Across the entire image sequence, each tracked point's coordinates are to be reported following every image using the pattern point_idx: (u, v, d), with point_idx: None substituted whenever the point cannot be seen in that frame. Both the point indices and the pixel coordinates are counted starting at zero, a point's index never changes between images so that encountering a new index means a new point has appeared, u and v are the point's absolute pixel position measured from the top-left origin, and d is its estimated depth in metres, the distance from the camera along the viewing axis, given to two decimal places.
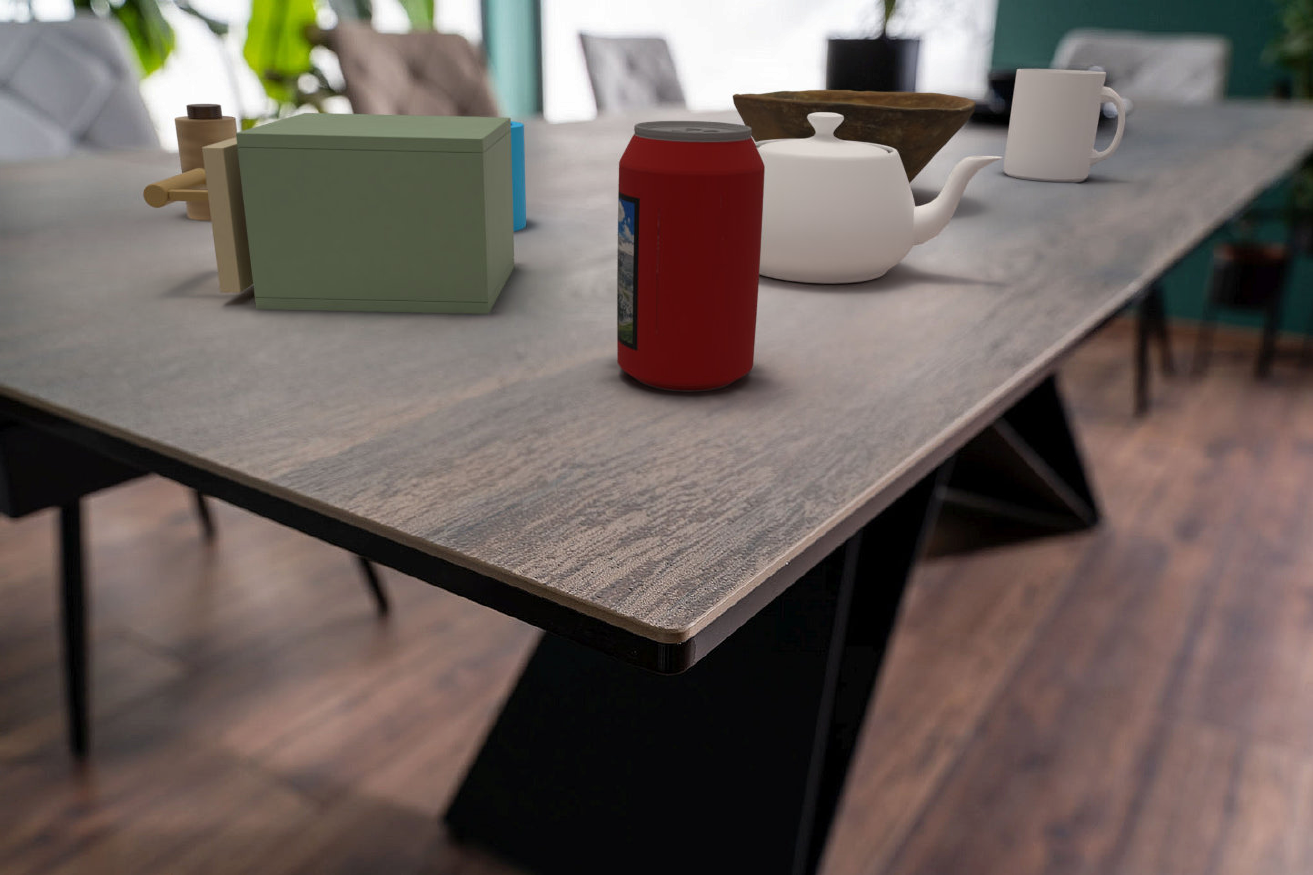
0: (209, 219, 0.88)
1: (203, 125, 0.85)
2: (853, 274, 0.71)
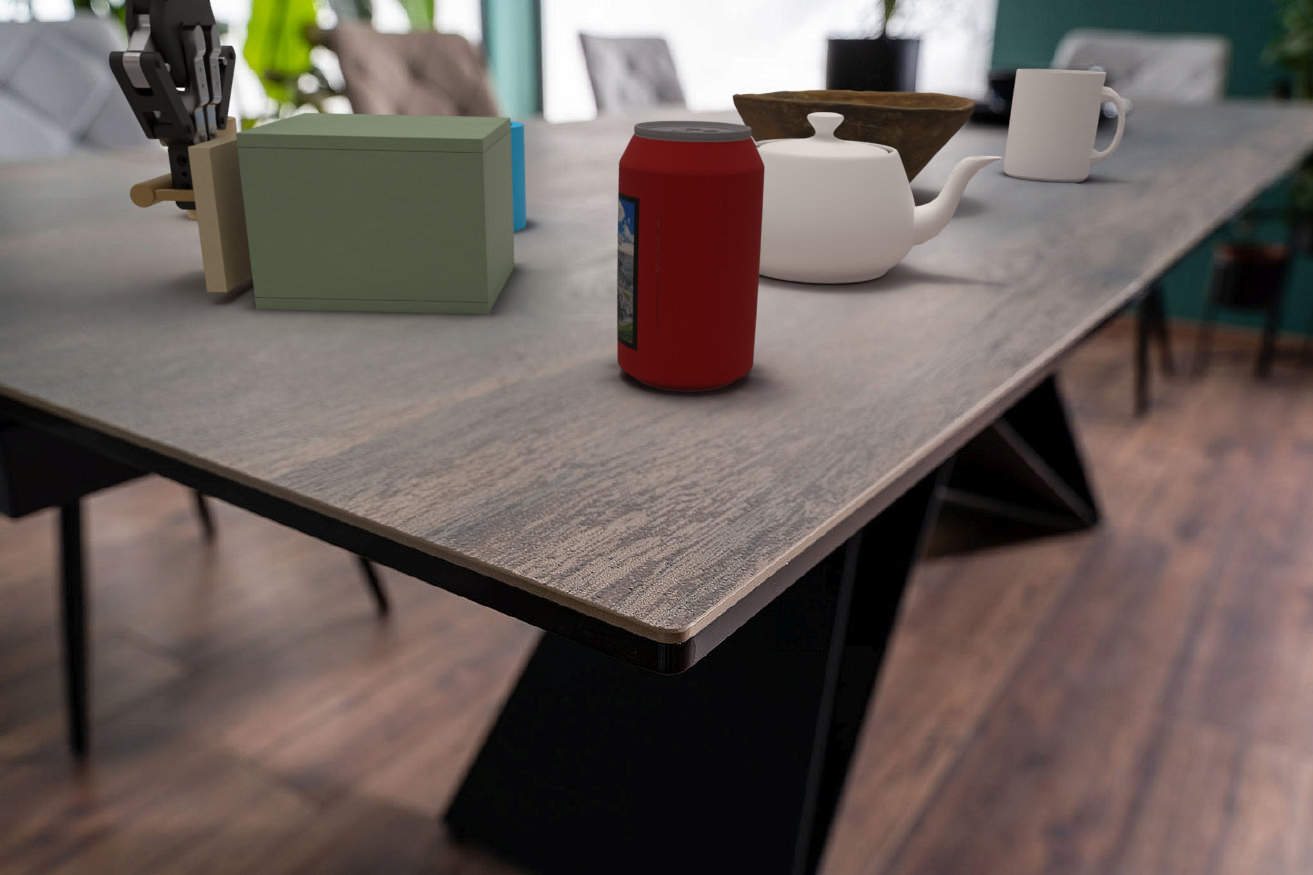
0: None
1: None
2: (853, 274, 0.71)
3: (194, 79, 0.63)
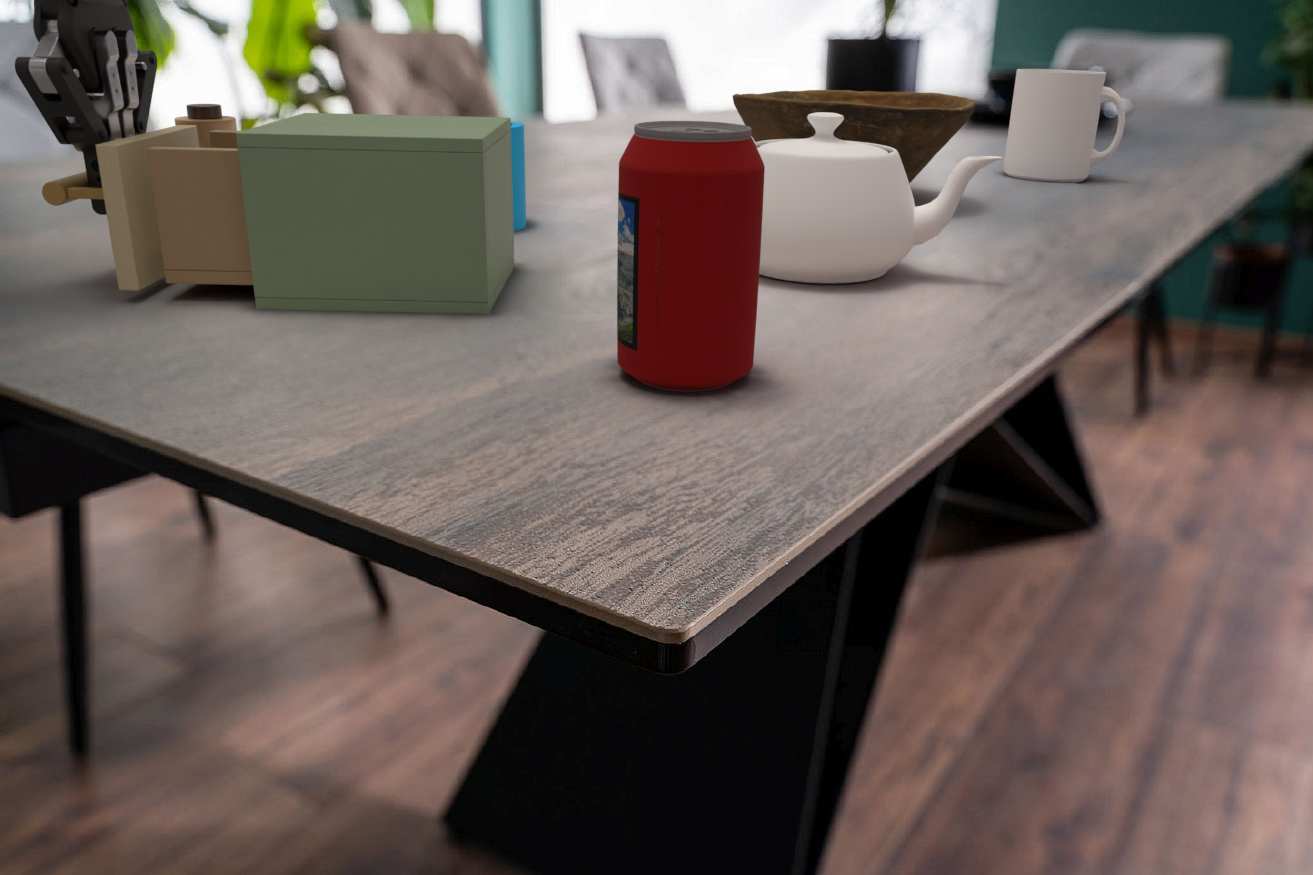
0: None
1: (203, 125, 0.85)
2: (853, 274, 0.71)
3: (107, 84, 0.63)
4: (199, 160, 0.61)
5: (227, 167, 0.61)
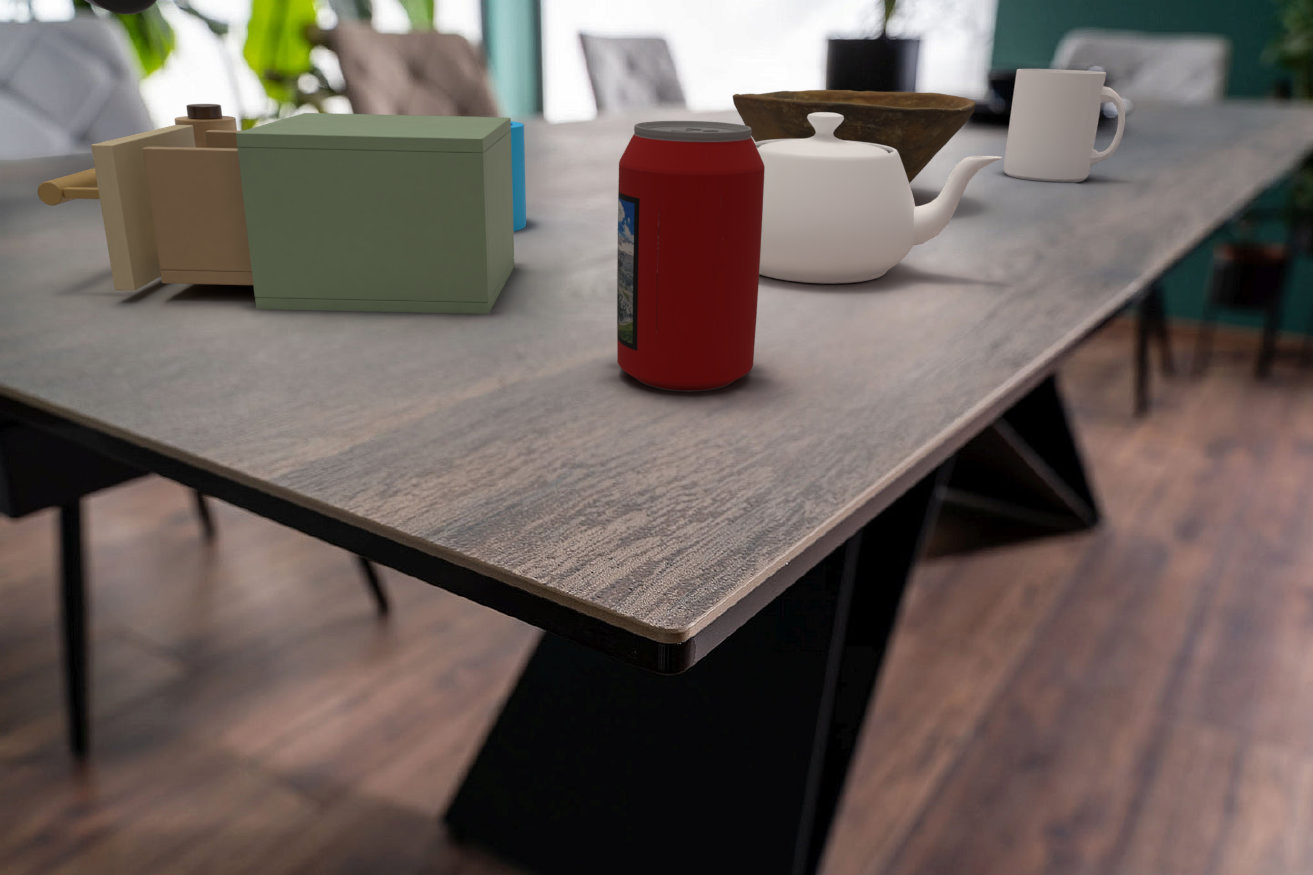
0: None
1: (203, 125, 0.85)
2: (853, 274, 0.71)
3: None
4: (195, 160, 0.61)
5: (223, 166, 0.61)
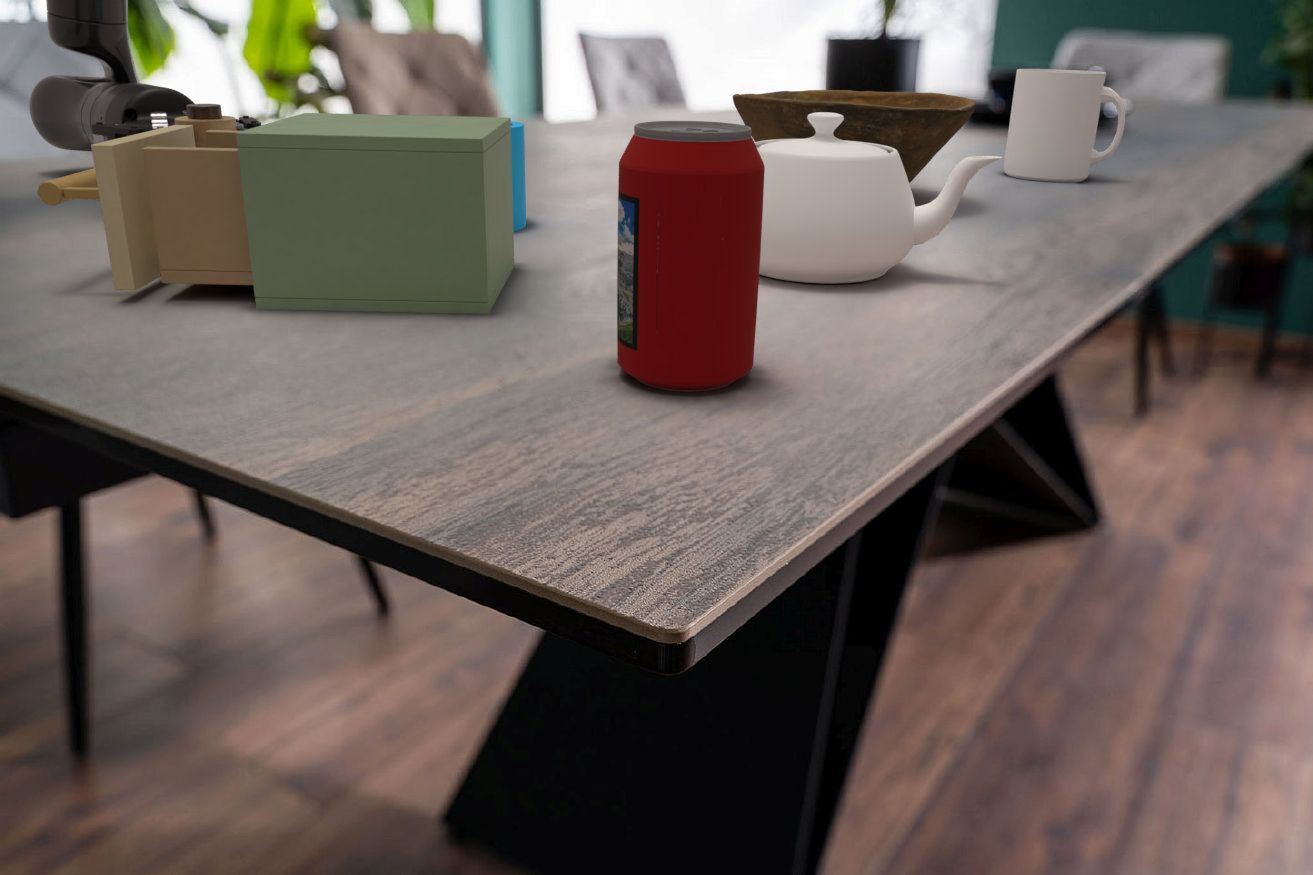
0: None
1: (203, 125, 0.85)
2: (853, 274, 0.71)
3: None
4: (195, 160, 0.61)
5: (223, 166, 0.61)
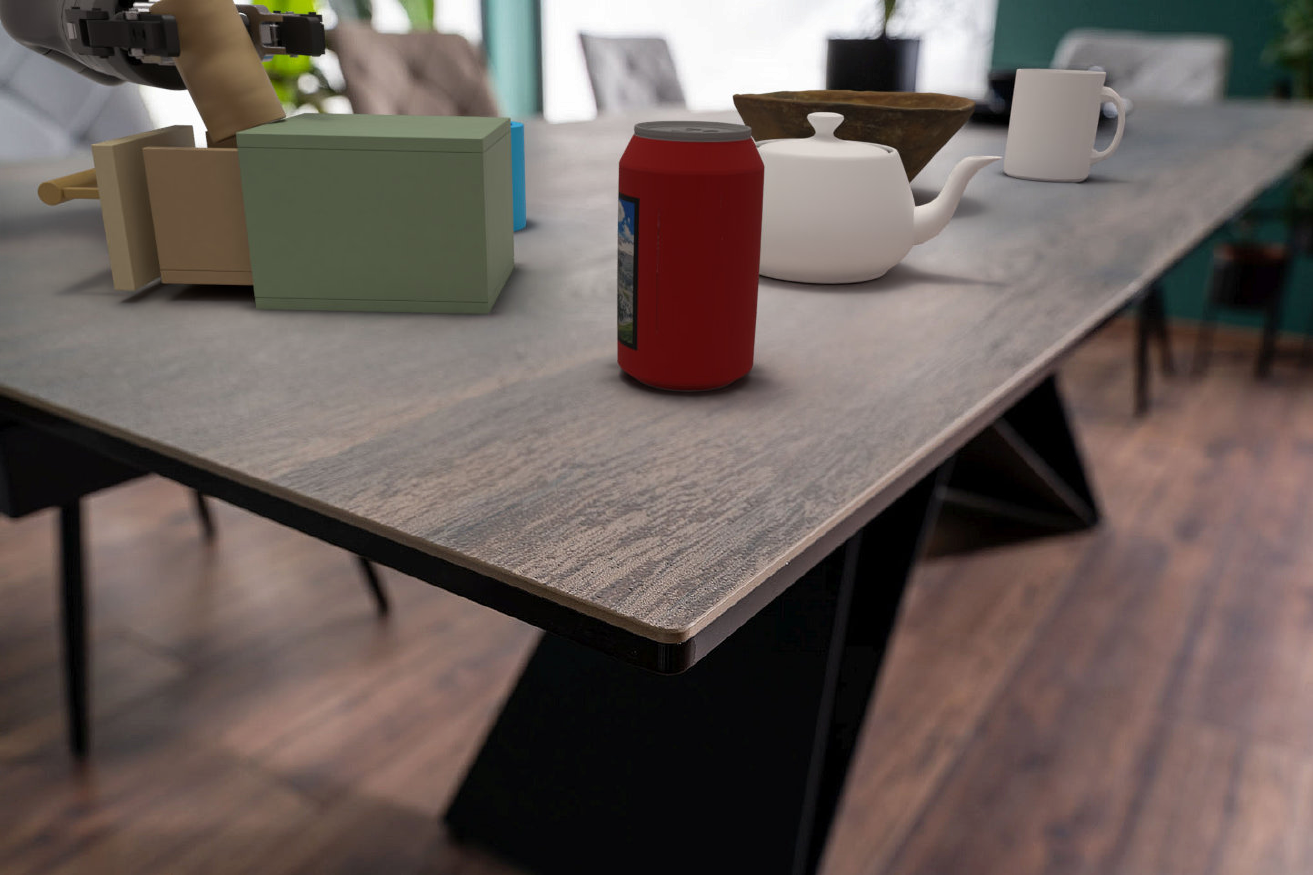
0: (238, 128, 0.63)
1: None
2: (853, 274, 0.71)
3: None
4: (195, 160, 0.61)
5: (223, 166, 0.61)
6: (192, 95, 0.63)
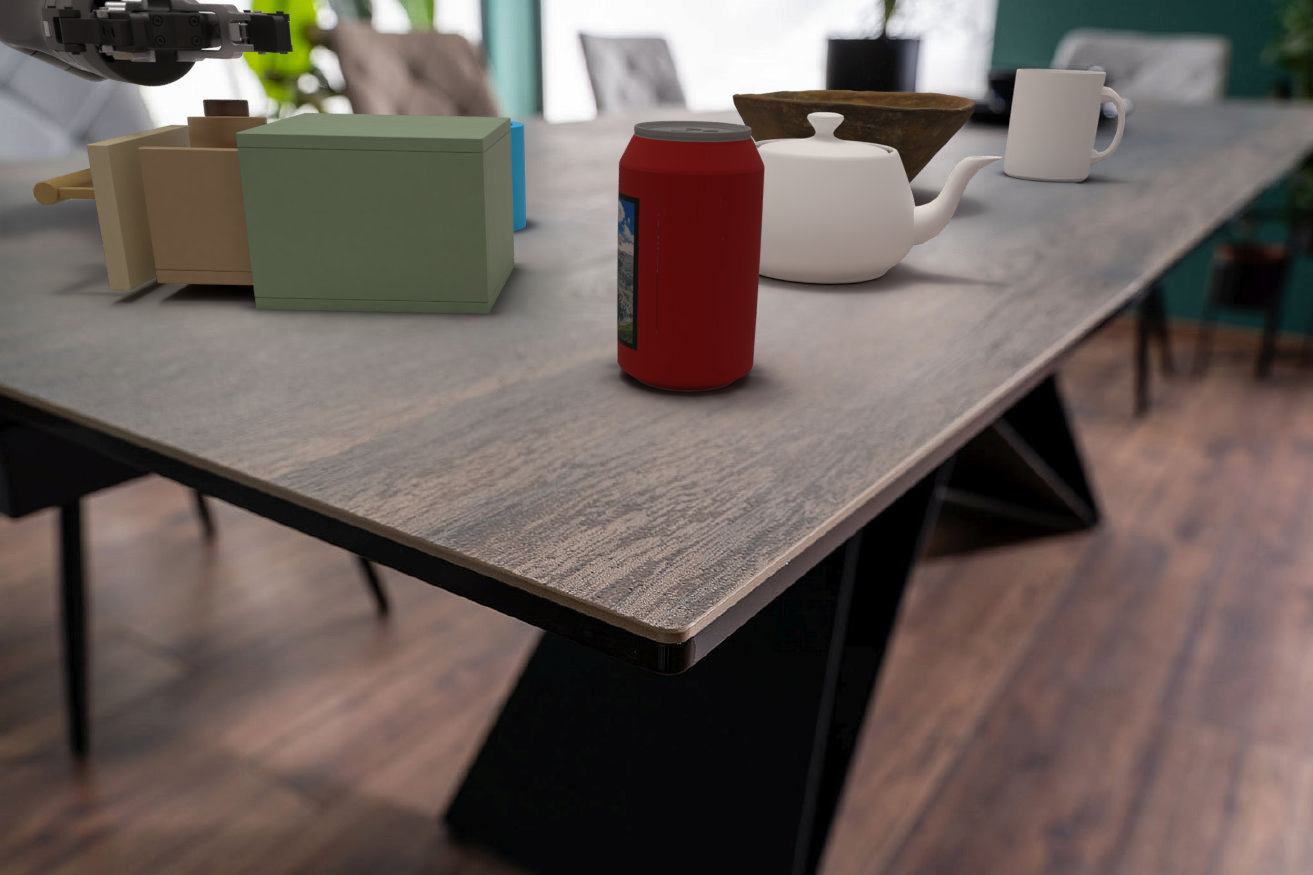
0: None
1: (221, 122, 0.64)
2: (853, 274, 0.71)
3: None
4: (190, 160, 0.61)
5: (218, 166, 0.61)
6: None
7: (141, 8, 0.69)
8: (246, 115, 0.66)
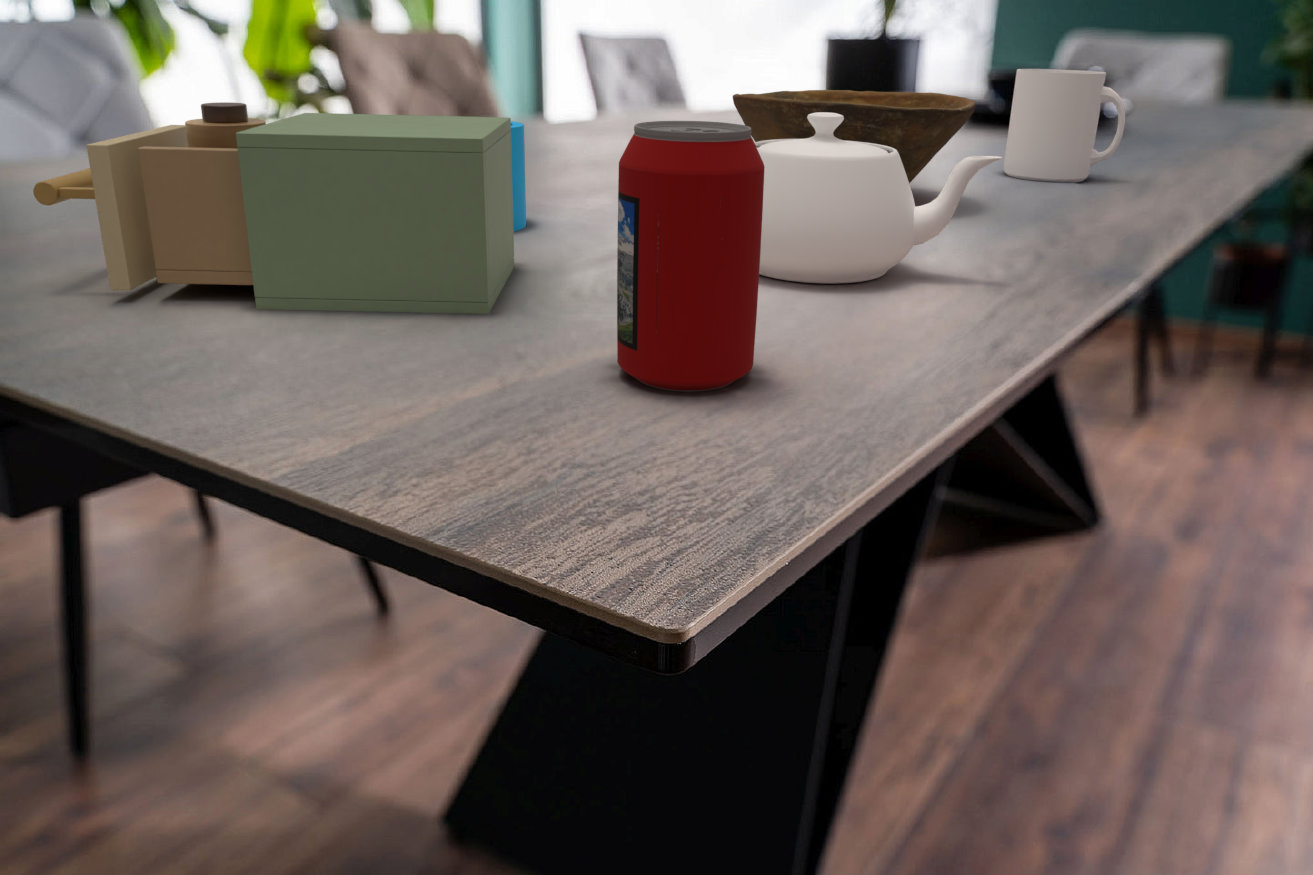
0: None
1: (224, 130, 0.64)
2: (853, 274, 0.71)
3: None
4: (190, 160, 0.61)
5: (218, 166, 0.61)
6: None
7: None
8: (245, 120, 0.66)
